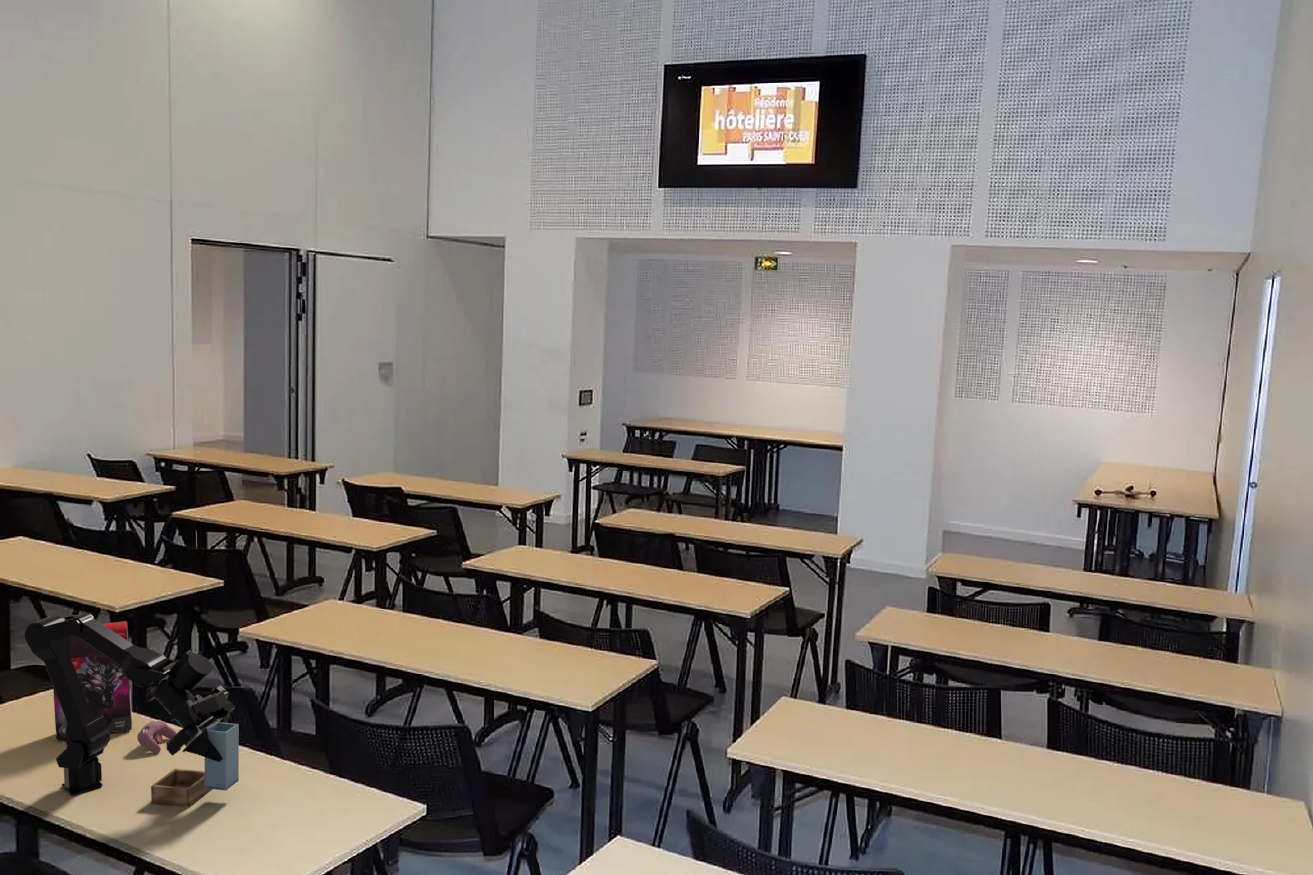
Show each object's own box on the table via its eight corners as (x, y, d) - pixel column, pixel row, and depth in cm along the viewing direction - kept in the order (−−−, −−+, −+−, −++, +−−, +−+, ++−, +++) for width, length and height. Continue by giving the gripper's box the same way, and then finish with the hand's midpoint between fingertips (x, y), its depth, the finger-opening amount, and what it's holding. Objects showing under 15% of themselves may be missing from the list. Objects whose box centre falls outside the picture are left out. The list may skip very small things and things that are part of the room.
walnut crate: (151, 803, 226) (150, 786, 225) (175, 785, 235) (175, 768, 234) (189, 807, 225) (189, 789, 224) (212, 789, 234) (212, 772, 233)
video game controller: (164, 743, 261) (151, 719, 260) (180, 736, 260) (167, 711, 260) (144, 760, 251) (130, 735, 250) (160, 752, 250) (146, 727, 250)
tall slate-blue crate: (204, 788, 226) (204, 730, 225) (217, 778, 231) (217, 722, 229) (226, 790, 225) (226, 732, 224) (238, 780, 230) (238, 724, 229)
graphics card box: (54, 743, 255) (49, 635, 252) (55, 732, 261) (51, 627, 258) (132, 732, 263) (128, 627, 260) (131, 722, 269) (128, 619, 266)
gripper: (178, 694, 217) (228, 750, 217) (226, 665, 235) (273, 716, 235) (144, 728, 219) (194, 782, 218) (194, 696, 237) (240, 746, 237)
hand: (227, 755), depth 227 cm, fingers closed on tall slate-blue crate, 5 cm apart
